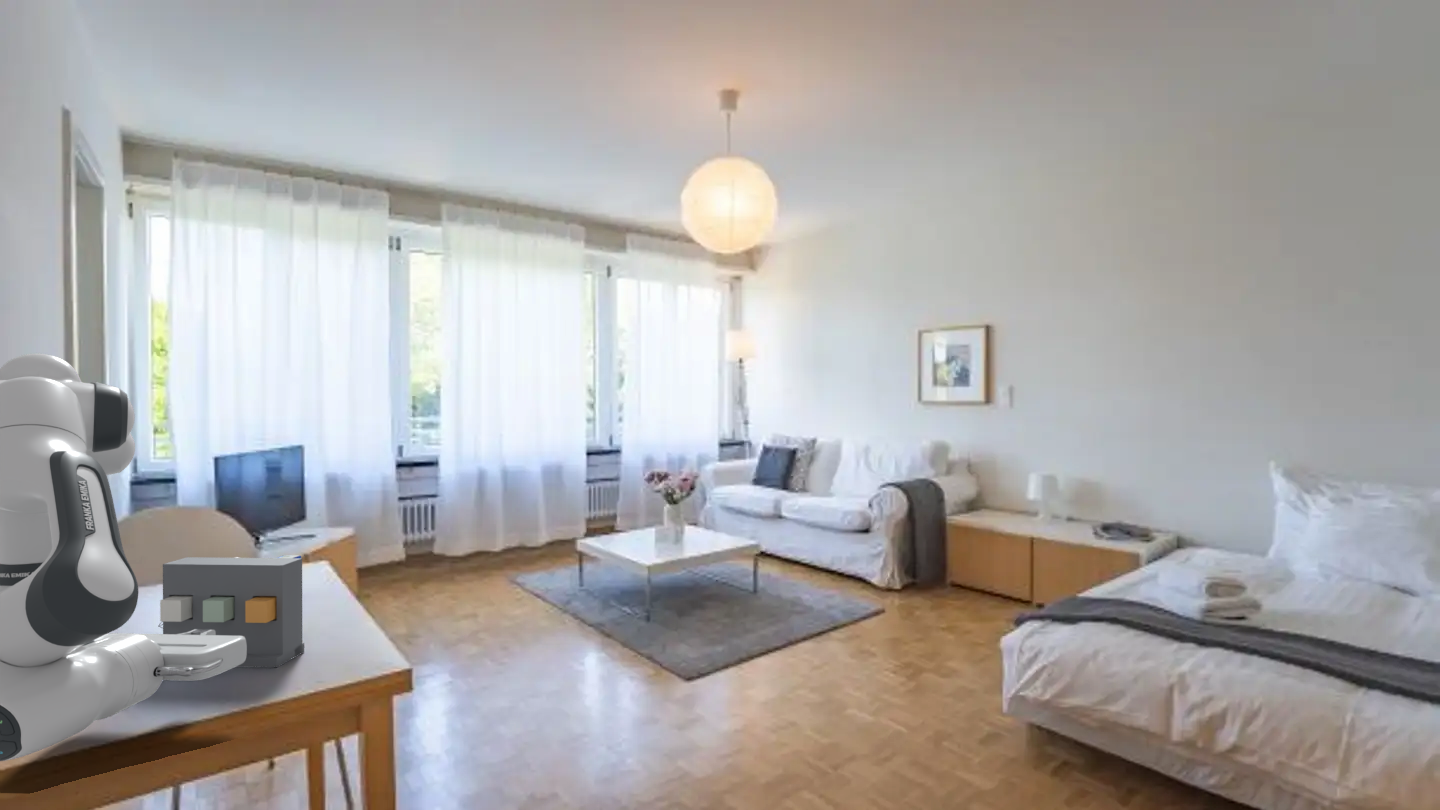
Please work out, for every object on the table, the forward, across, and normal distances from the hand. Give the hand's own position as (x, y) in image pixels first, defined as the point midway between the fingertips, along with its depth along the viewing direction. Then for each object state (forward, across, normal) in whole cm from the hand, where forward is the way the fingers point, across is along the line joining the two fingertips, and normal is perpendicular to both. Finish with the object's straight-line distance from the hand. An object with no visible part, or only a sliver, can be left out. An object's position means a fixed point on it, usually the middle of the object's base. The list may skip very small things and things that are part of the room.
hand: (206, 634), depth 101 cm
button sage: (+12, +7, +1) cm, 13 cm away
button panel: (+14, +7, +9) cm, 18 cm away
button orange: (+12, 0, +1) cm, 12 cm away
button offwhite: (+12, +14, +2) cm, 18 cm away
